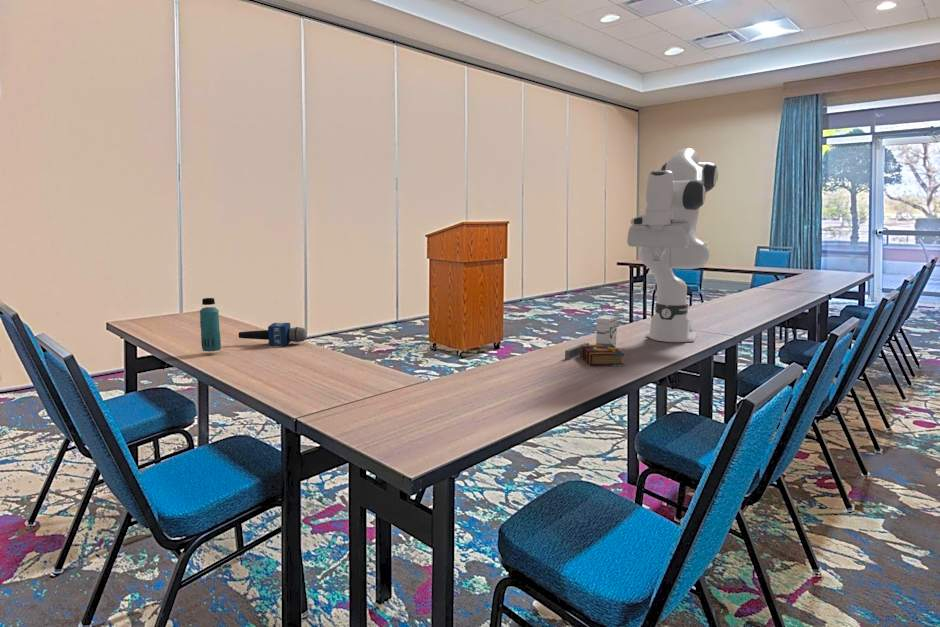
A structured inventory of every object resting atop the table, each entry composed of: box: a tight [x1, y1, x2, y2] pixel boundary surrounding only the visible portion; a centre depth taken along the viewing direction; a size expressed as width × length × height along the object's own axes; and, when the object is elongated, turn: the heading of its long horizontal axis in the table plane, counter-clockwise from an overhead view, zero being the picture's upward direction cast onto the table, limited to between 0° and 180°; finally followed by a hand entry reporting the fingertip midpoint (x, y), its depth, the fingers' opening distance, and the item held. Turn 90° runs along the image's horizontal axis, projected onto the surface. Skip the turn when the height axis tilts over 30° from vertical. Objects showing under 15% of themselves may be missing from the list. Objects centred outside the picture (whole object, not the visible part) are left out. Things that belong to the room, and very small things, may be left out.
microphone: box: [238, 322, 307, 347], centre depth 238 cm, size 8×8×25 cm
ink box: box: [595, 314, 618, 348], centre depth 231 cm, size 9×5×12 cm, turn 147°
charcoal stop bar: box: [564, 342, 590, 360], centre depth 220 cm, size 16×2×3 cm, turn 145°
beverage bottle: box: [199, 297, 222, 353], centre depth 221 cm, size 6×7×20 cm
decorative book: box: [580, 344, 625, 367], centre depth 212 cm, size 11×16×5 cm
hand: (656, 260), depth 212 cm, fingers closed
